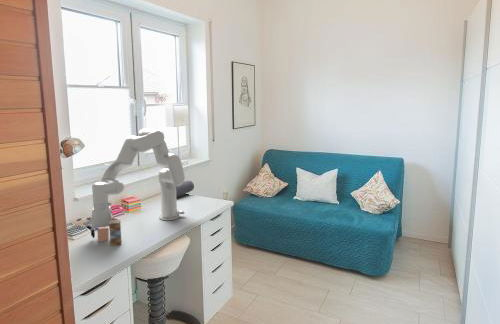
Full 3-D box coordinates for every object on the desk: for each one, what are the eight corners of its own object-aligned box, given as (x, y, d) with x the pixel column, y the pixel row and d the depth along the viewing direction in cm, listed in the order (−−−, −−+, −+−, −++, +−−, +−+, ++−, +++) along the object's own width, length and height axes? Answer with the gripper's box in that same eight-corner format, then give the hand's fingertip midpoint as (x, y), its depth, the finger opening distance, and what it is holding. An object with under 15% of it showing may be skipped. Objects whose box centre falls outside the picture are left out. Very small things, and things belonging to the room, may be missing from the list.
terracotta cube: (109, 237, 197) (108, 226, 196) (108, 240, 193) (107, 229, 191) (99, 237, 196) (98, 227, 195) (98, 241, 191) (97, 230, 190)
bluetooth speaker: (185, 191, 291) (185, 179, 290) (194, 193, 287) (194, 180, 285) (165, 198, 272) (165, 185, 270) (175, 199, 268) (174, 186, 266)
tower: (121, 241, 192) (120, 219, 189) (120, 245, 187) (119, 222, 185) (111, 242, 190) (110, 220, 188) (110, 246, 185) (109, 223, 183)
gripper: (119, 202, 197) (120, 232, 200) (84, 204, 192) (87, 235, 195) (118, 206, 190) (119, 237, 193) (82, 208, 185) (84, 240, 188)
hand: (103, 236), depth 194 cm, fingers open, 9 cm apart
